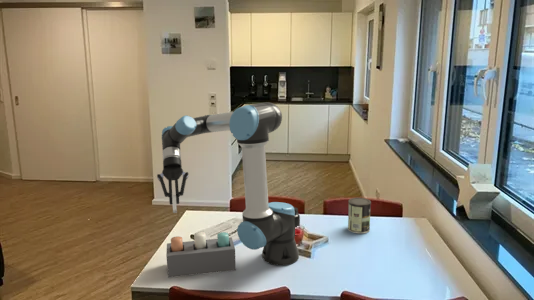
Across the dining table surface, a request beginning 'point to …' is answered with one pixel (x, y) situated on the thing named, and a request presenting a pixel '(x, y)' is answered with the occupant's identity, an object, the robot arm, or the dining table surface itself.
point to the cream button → (200, 240)
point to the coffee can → (359, 215)
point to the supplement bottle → (297, 217)
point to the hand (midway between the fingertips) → (174, 211)
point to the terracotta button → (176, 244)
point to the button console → (200, 259)
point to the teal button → (223, 239)
